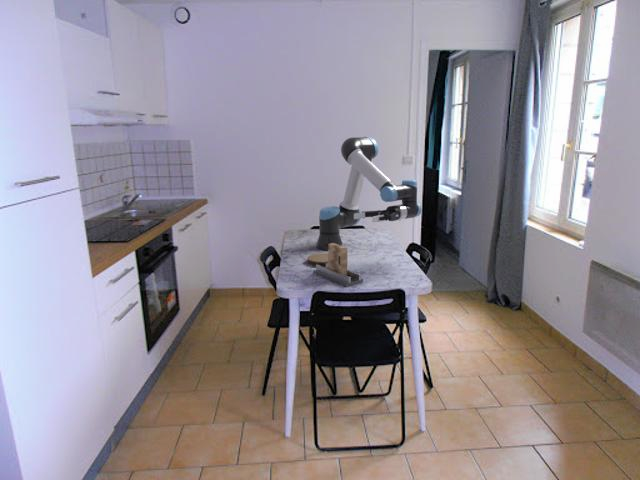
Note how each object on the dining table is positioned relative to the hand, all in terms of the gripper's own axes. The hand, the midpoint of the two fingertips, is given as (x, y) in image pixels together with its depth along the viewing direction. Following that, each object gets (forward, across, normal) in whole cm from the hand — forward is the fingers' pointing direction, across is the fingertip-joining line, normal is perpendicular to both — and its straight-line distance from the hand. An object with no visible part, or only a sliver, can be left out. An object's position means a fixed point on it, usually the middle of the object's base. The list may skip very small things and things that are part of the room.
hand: (363, 217), depth 212 cm
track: (+17, 0, -26) cm, 31 cm away
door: (+16, 0, -25) cm, 30 cm away
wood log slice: (+7, +24, -26) cm, 36 cm away
